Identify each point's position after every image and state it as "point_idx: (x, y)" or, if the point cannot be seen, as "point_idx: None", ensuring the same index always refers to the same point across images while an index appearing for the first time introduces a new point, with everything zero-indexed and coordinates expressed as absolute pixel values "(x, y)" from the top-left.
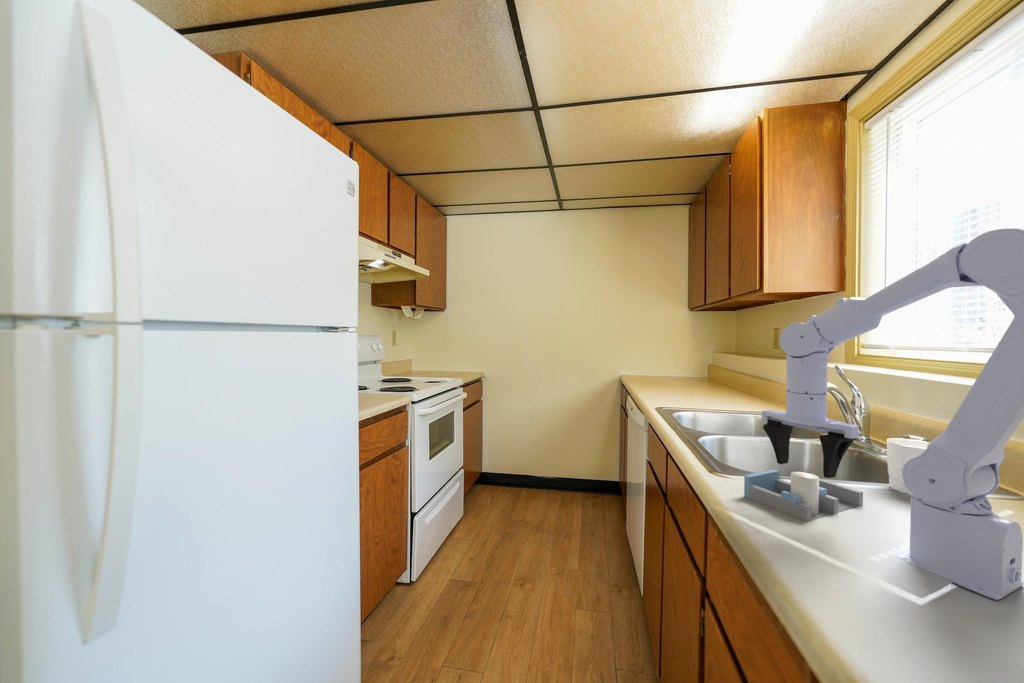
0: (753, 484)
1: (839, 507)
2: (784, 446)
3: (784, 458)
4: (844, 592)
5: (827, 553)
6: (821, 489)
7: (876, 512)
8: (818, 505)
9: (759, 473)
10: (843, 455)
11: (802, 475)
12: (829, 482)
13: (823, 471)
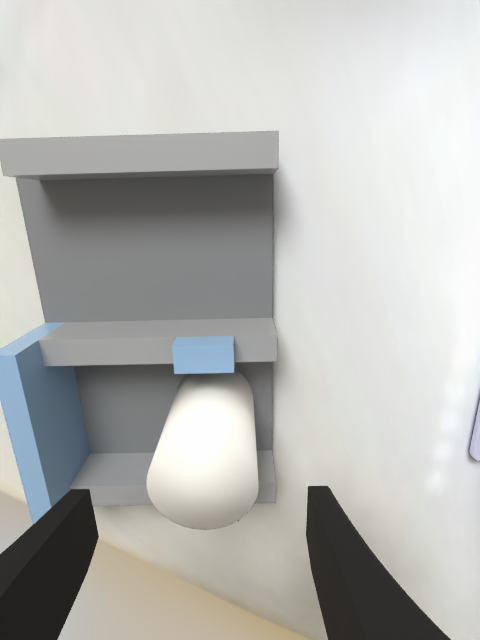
0: (69, 487)
1: (249, 267)
2: (32, 609)
3: (82, 541)
4: (448, 627)
5: (371, 542)
6: (228, 371)
7: (315, 136)
8: (252, 401)
9: (28, 468)
10: (407, 595)
11: (196, 492)
12: (135, 151)
13: (312, 567)
